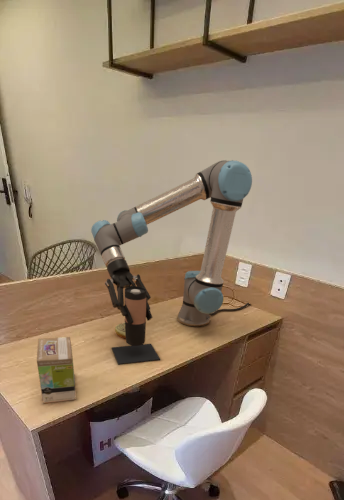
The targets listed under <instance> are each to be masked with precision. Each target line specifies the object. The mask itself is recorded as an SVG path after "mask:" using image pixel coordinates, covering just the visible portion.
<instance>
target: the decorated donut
mask: <svg viewBox="0 0 344 500" xmlns="http://www.w3.org/2000/svg"><path fill="white" fill-rule="evenodd" d="M114 332H115V333H116V335H117V337H120V338H124V339H126V335H125V322H121V323H119V324H117V325H115V326H114Z"/></svg>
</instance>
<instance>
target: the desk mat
mask: <svg viewBox="0 0 344 500" xmlns="http://www.w3.org/2000/svg"><path fill="white" fill-rule="evenodd" d="M111 351H112V352H113V355H114V357H115V360H116V363H117V365H118V366H122V365H129V364H140V363H148V362H158V361H161V358H160V356H159V355H158V352H157V351H156V349H155V348H154V346H153V345H152V343H144V344H143V345H140V346H132V345H122V346H112V347H111Z"/></svg>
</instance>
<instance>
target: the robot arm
mask: <svg viewBox="0 0 344 500" xmlns="http://www.w3.org/2000/svg"><path fill="white" fill-rule="evenodd" d="M252 186H253V177H252V172H251V170H250V168H249V167H248V166H247V164H245V163H244V162H242V161H239V160H233V159H232V160H227V159H225V160H219V161H217V162H214V163H213V164H211V165H210V166H208V167H206V168H204V169H202V170H201V171H199V172H197V173H195V175H194V177H193V178H192V179H189V180H187V181H185V182H183V183H181V184H179V185H177V186H175V187H173V188H171V189H168V190H167V191H165V192H162V193H161V194H158V195H156V196H154V197H152V198H149V199H147V200H146V201H143V202H142V203H140V204H138V205H136V206H134V207H131V208H129V209H125V210H122V211H120V212H119V213H118V215H117V218H116V222H114V223H110V221H108V220H106V219H102V220H98V221H96V222H94V223H93V225H92V226H91V228H90V230H91V231H90V232H91V234H92V238H93V240H94V243H95V245H96V247H97V249H98V251H99V252H98V253H99V254H100V256H101V259H102V261H103V263H104V265H105V267H106V270H107V273H108V275H109V277H110V278H107V279H106V281H105V282H104V285H105V287H106V288H107V290H108V294H109V297H110V301H111V304H112V308H114V309H117V310H119V311H120V313H121V315H122V317H124V319H125V318H126V320H127V322H128V325H131V324H132V323H133V319H132V317H131V315H130V312H129V310H128V308H127V306H126V305H125V296H124V289H125V288H127V287H130V286H139V287H143V288H145V289H146V321H148V322H150V320H152V319H153V315H152V313H151V306H150V305H149V302H148V301H149V300H150V299H151V295H150V293H149V291H148V290H147V288H146V287H145V284H144V283H143V281H142V279H141V275H140V274H136V275H133V274H132V273H131V270H130V267H129V264H128V262H127V260H126V258H125V255H124V252H123V250H122V249H121V246H123V245H125V244H126V243H129V242H131V241H134V240H137V239H138V238H141V237H142V236H144V235H146V234H147V233H148V232H149V228H148V225H149V224H152V223H154V222H156V221H158V220H160V219H162V218H164V217H166V216H168V215H170V214H172V213H174V212H176V211H179V210H180V209H183V208H185V207H187V206H189V205H191V204H193V203H196V202H197V201H200V200H202V201H206V200H208V199H210V201H209V203H210V204H211V206H212V211H211V217H210V222H209V226H208V232H207V236H206V242H205V247H204V251H203V256H202V257H203V258H202V262H201V267H200V270H188V271H186V272H185V273H184V279H183V281H184V283H183V294H182V295H183V296H182V305H181V307H180V309H179V311H178V314H177V321H178V322H179V323H180V324H182V325H184V326H188V327H194V328H196V327H197V328H198V327H205V326H207V325H209V324H210V321H211V320H210V319H211V316H214V315H216V314H218V313H220V312H235V311H239V310H242V309H244V308H246V307H247V306H252V304H251V303H250V302H247V303H245V304H244V305H242V306H240V307H237V308H221V307H222V306H223V303H224V294H223V292H222V290H223V286H224V281H225V280H224V279H223V278H222V274H223V269H224V265H225V261H226V257H227V252H228V248H229V244H230V239H231V235H232V231H233V226H234V223H235V218H236V214H237V212H238V211H239V210H240V209H242V207H243V203H244V199H245V198H246V197H247V196H248V195H249V193H250V192H251V189H252ZM114 285H115V286H116V289H115V286H114ZM249 303H250V304H249Z"/></svg>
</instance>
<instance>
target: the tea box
mask: <svg viewBox="0 0 344 500" xmlns="http://www.w3.org/2000/svg"><path fill="white" fill-rule="evenodd" d="M36 351H37V352H36V364H37V365H36V366H37V372H38V379H39V384H40V385H39V386H40V391H41V397H42V402H43V404H46V403H47V404H48V403H55V402H56V403H57V402H58V403H59V402H67V401H74V400H76V399H77V394H76V393H77V392H76V378H75V368H74V358H73V357H74V356H73V349H72V341H71V337H70V336H64V337H62V336H60V337H43V338H38V339H37V350H36Z"/></svg>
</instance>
